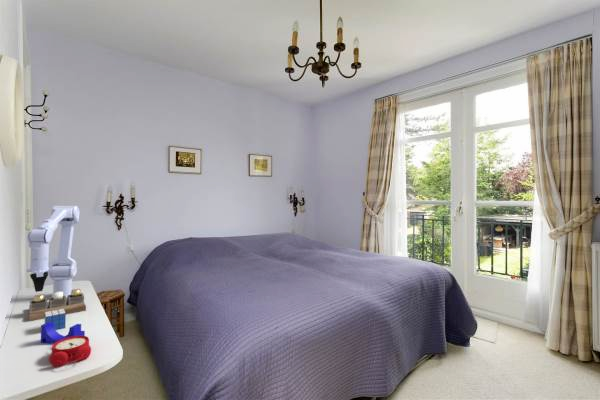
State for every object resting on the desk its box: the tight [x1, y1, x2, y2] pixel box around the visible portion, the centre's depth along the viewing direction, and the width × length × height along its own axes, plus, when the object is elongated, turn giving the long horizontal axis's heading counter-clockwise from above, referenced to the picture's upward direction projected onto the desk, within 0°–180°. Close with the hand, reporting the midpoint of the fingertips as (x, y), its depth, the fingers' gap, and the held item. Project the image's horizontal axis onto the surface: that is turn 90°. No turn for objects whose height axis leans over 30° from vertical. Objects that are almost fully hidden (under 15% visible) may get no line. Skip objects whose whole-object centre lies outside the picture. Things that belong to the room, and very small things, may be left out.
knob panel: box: [28, 292, 87, 322], centre depth 129 cm, size 16×18×5 cm
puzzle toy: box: [44, 309, 67, 331], centre depth 112 cm, size 6×6×6 cm
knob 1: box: [32, 293, 45, 304], centre depth 125 cm, size 3×3×3 cm
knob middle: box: [52, 292, 63, 300], centre depth 129 cm, size 3×3×3 cm
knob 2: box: [71, 288, 82, 297], centre depth 133 cm, size 3×3×3 cm
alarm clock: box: [48, 334, 92, 368], centre depth 92 cm, size 10×6×15 cm
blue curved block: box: [40, 322, 86, 345], centre depth 102 cm, size 12×4×6 cm, turn 84°
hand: (38, 290), depth 125 cm, fingers closed
